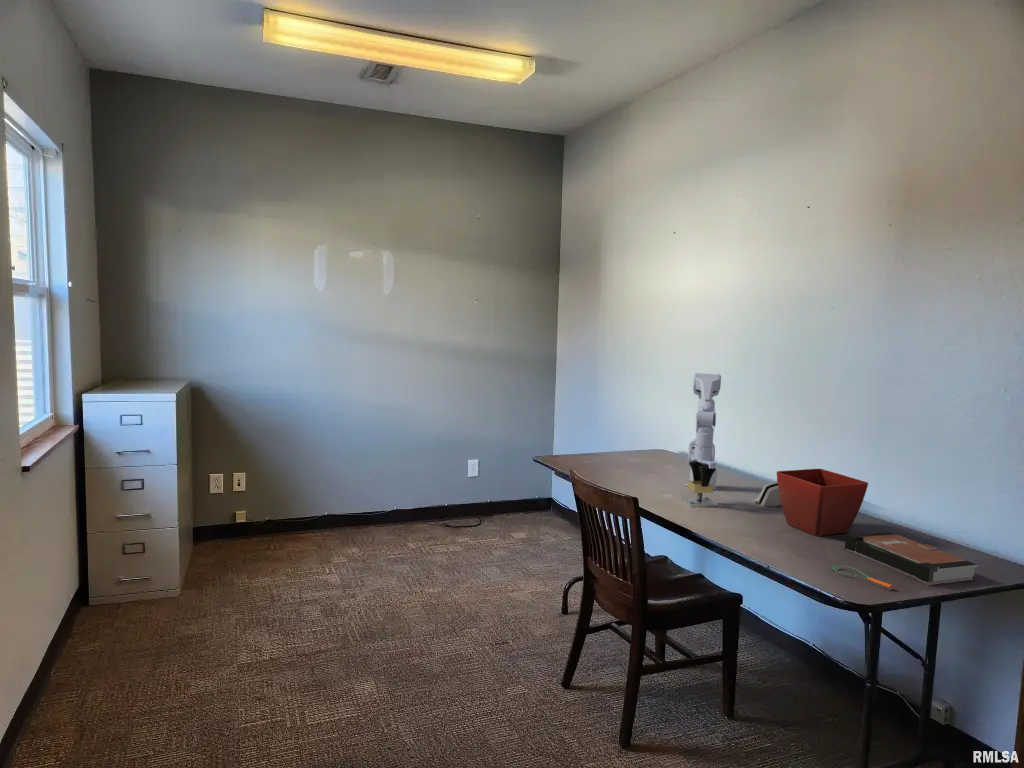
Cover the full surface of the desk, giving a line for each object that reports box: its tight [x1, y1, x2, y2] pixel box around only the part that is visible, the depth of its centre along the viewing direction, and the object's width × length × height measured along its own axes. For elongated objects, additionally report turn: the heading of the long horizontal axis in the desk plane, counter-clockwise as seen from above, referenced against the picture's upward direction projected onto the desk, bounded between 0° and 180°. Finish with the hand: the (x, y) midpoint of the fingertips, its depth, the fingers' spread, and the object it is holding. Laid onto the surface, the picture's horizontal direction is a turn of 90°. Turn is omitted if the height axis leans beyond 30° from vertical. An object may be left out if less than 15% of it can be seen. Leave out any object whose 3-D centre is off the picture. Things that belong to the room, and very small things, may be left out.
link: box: [687, 480, 714, 494], centre depth 232 cm, size 7×5×3 cm
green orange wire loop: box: [832, 565, 895, 588], centre depth 169 cm, size 15×6×2 cm, turn 29°
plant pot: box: [776, 468, 869, 537], centre depth 209 cm, size 19×19×17 cm
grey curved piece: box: [754, 480, 782, 507], centre depth 237 cm, size 17×5×10 cm, turn 107°
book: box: [844, 531, 979, 582], centre depth 182 cm, size 26×18×5 cm
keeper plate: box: [681, 493, 719, 508], centre depth 233 cm, size 10×7×5 cm
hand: (700, 484), depth 232 cm, fingers closed on link, 5 cm apart
